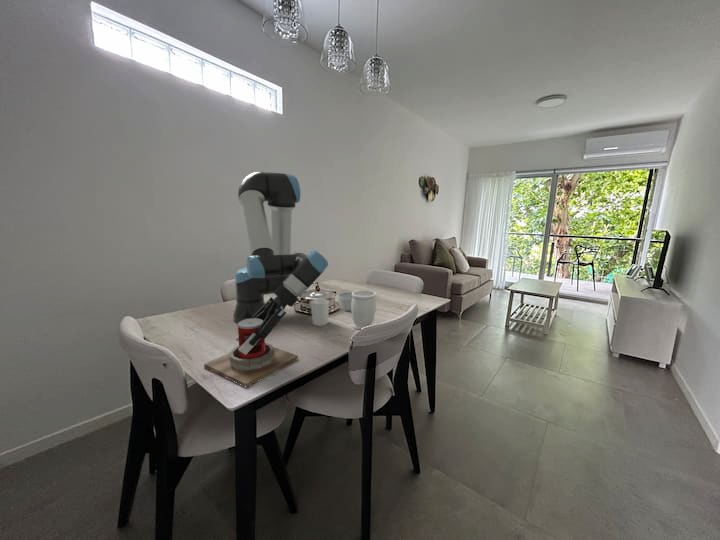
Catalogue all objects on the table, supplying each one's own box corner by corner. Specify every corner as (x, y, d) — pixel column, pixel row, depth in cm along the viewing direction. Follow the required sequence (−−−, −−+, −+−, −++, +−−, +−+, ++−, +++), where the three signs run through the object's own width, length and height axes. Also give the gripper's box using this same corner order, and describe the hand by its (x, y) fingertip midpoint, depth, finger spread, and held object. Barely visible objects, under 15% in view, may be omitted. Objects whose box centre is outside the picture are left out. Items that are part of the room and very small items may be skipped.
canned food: (254, 347, 98) (252, 316, 96) (270, 353, 94) (269, 321, 92) (234, 356, 92) (231, 323, 90) (251, 363, 88) (249, 328, 86)
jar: (363, 320, 133) (364, 289, 131) (380, 327, 126) (381, 293, 123) (345, 326, 126) (346, 292, 123) (362, 333, 119) (363, 298, 116)
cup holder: (204, 367, 90) (203, 354, 89) (257, 344, 107) (256, 333, 106) (246, 388, 80) (245, 373, 79) (297, 358, 96) (297, 347, 96)
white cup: (330, 320, 133) (330, 299, 131) (327, 326, 125) (327, 304, 123) (313, 319, 134) (313, 298, 132) (309, 325, 126) (308, 303, 124)
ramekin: (363, 312, 145) (363, 299, 144) (337, 312, 145) (337, 298, 144) (362, 304, 158) (363, 292, 157) (338, 304, 158) (338, 291, 157)
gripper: (308, 306, 88) (255, 367, 83) (290, 290, 106) (245, 340, 101) (290, 291, 85) (234, 354, 80) (274, 277, 102) (227, 328, 98)
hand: (240, 346), depth 91 cm, fingers closed on canned food, 8 cm apart
